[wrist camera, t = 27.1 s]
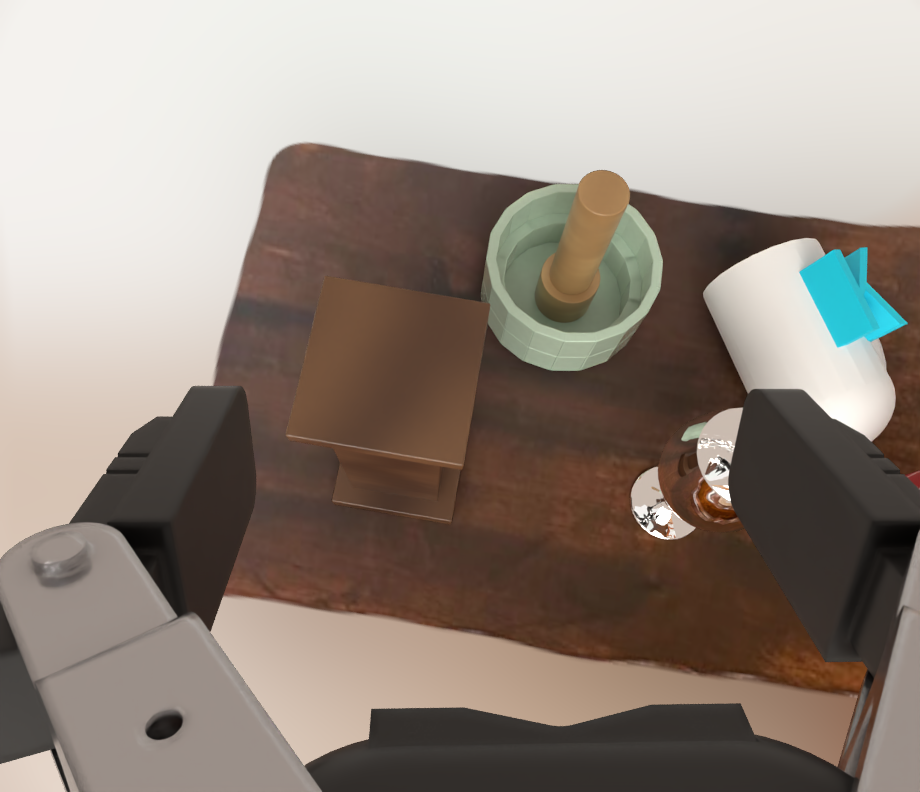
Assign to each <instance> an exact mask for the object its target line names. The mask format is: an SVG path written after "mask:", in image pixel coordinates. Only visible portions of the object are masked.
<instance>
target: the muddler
mask: <svg viewBox="0 0 920 792" xmlns="http://www.w3.org/2000/svg"><path fill="white" fill-rule="evenodd" d="M629 200H630V191H629V187H628V185H627V183H626V182H625V181H624V179H623V178H622V177H620V176H619V175H617V174H616V173H613V172H611V171H607V170H597V171H593V172H591V173H589V174H587V175H586V176H584V177H583V178H582V180H581V181H580V183H579V185H578V188H577V191H576V194H575V197H574V200H573V203H572V206H571V209H570V212H569V215H568V218H567V221H566V224H565V227H564V230H563V233H562V236H561V239H560V242H559V245H558V248H557V251H556V253H554V254H552V255H551V256H550V257H549V258H547V260H546V261H545V263H544V264H543V267H542V270H541V273H540V276H539V279H538V283H537V286H536V289H535V302H536V305H537V307H538V309H539V310H540V312H541V313H542V314H543V315H544V316H546V317H547V318H549V319H550V320H553V321H556V322H561V323H568V322H573V321H575V320H578V319H579V318H581V317H582V316H583V315H584V314H585V313H586V312H587V310H588V308H589V306H590V304H591V302H592V300H593V298H594V296H595V294H596V292H597V290H598V287H599V285H600V272H599V269H598V268H599V266H600V264H601V261H602V259H603V257H604V255H605V253H606V251H607V248H608V246H609V244H610V242H611V240H612V238H613V236H614V233H615V231H616V229H617V227H618V225H619V223H620V220H621V218H622V216H623V214H624V212H625V210H626V208H627V205H628V203H629Z"/></svg>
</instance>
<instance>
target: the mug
mask: <svg viewBox="0 0 920 792" xmlns="http://www.w3.org/2000/svg"><path fill="white" fill-rule="evenodd" d="M867 248H868V247H865V248H859V249H858V250H856V251H855V252H853V253H851V254H850V255H848V256H847V257H845V258H844V256H843V254H842V252H841V250H840V249H838V250H832V251H831V252H829V253H828V254H826V255H825V253H824V251H823V249H822V247H821V245H820V243H819V242H818V241H817V240H816V239H811V238H803V239H797V240H792V241H788V242H785V243H782V244H779V245H776V246H773V247H771V248H768V249H766V250H764V251H761V252H759V253H757V254H754V255H752V256H750V257H749V258H747V259H745V260H743V261H741V262H739V263H737V264H735V265H734V266H732V267H731V268H729V269H728V270H726V271H725V272H723V273H722V274H720V275H719V276H718V277H717V278H716V279H714V280H713V281H712V282H711V283H710V284H709V285H708V286H707V288H706V289H705V291H704V292H703V298H704V300H705V302H706V304H707V307H708V309H709V311H710V313H711V315H712V317H713V319H714V322H715V324H716V326H717V328H718V330H719V332H720V335H721V337H722V339H723V341H724V343H725V345H726V348H727V350H728V352H729V354H730V356H731V358H732V361H733V363H734V365H735V367H736V369H737V371H738V374H739V376H740V378H741V380H742V382H743V384H744V386H745V389H746V391H747V393H749V392H750V391H751V390H753V389H802V390H804V391H805V392H806V393H807V394H808V395H809V396H810V397H811V398H812V399H813V400H814V401H815V402H816V403H817V404H818V405H819V406H820V407H821V408H822V409H823V410H824V411H825V412H826V413H827V414H828V415H829V416H830V417H831V418H832V419H836V420H838V421H840V422H842V423H844V424H845V425H847V426H849V427H851V428H853V429H854V430H856V431H858V432H860V433H861V434H863V435H865V436H866V437H867V438H868V439H869V440H870V441H871V442H872V441H873V440H874V439H875V438H876V437H877V436H878V435H879V434H880V433H881V432H882V431H883V430H884V428H885V427H886V426H887V424H888V422H889V421H890V419H891V417H892V414H893V411H894V408H895V399H896V396H895V388H894V386H893V383H892V380H891V378H890V377H889V375H888V373H887V371H886V361H885V357H884V353H883V349H882V345H881V343H880V341H879V338H880V337H882V336H884V335H886V334H888V333H890V332H892V331H894V330H896V329H898V328H900V327H902V326H904V325H906V324H908V323H907V322H906V321H905V320H904V319H903V318H902V317H901V316H900V315H899V314H898V313H897V312H896V311H895V310H894V309H893V308H892V307H891V306H890V305H889V304H888V303H887V302H886V301H885V300H884V299H883V298H882V297H881V296H880V295H879V294H878V293H877V292H876V291H875V290H874V289H873V288H872V287H871V286H870V285H869V284H868V283H867Z"/></svg>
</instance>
